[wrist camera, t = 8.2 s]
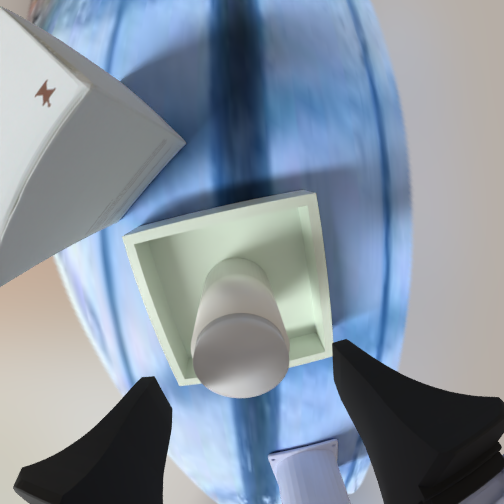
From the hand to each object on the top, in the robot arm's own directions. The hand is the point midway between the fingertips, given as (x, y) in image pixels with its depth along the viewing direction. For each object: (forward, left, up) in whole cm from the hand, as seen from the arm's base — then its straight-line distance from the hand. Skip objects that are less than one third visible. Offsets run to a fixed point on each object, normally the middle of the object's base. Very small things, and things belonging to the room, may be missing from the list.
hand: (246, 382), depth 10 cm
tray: (0, 0, -9) cm, 9 cm away
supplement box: (+11, +6, -10) cm, 16 cm away
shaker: (0, 0, -9) cm, 9 cm away
